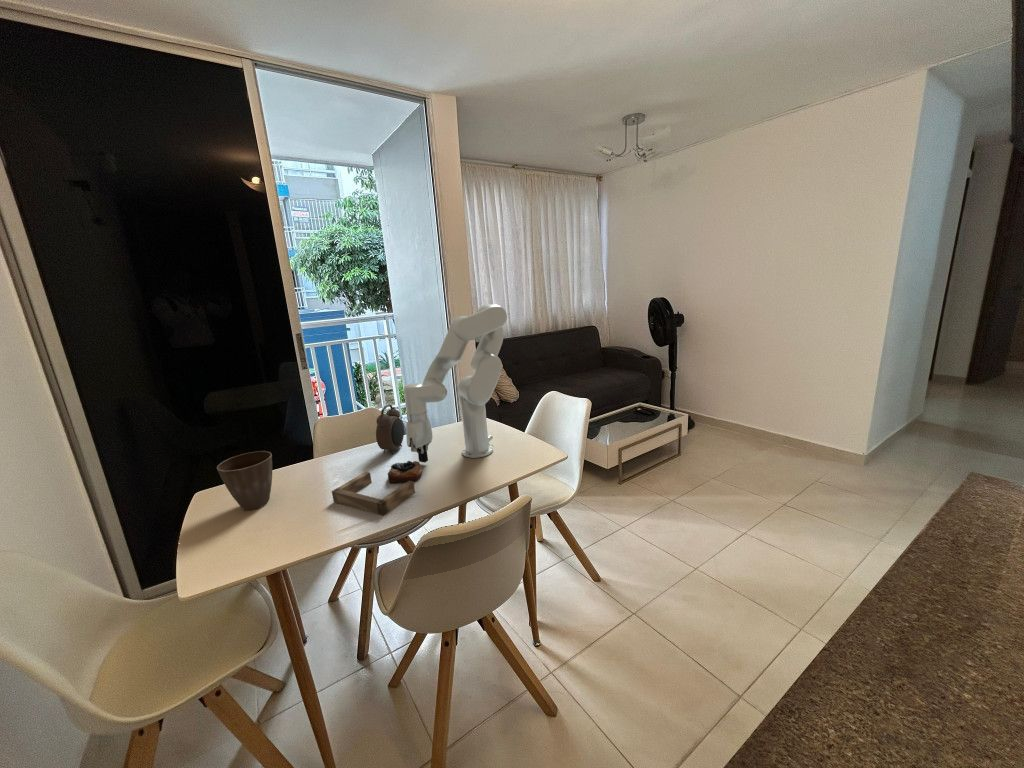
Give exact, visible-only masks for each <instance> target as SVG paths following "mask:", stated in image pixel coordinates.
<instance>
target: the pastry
mask: <svg viewBox="0 0 1024 768" xmlns="http://www.w3.org/2000/svg"><path fill="white" fill-rule="evenodd" d="M420 463H421V462H419V461H417V460H415V461H411V460H407V461H406V462H395V463H393V464H392V465H390V469H389V471H388V472H387V479H388V482H389V484H391V485H396V484H405V483H406V482H408V481H413V482H418V481H419V480H420V479H421V478H422V474H423V467H422V464H420Z"/></svg>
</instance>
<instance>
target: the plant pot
mask: <svg viewBox="0 0 1024 768" xmlns="http://www.w3.org/2000/svg"><path fill="white" fill-rule="evenodd" d="M216 469H217V472H218V474H219V477H220V478H221V481H222V482H223V484H224V486H225V487H226V490H228V492H229V494H230V495H231V496H232V498H233V499H234V500H235V502H236V503H237V504H238V505H239V506H240V507H241V509H243V510H244V511H252V510H251V509H254V510H257V509H260V508H262V507H264V506H266V505H267V504H268V503H269V502H268V501H270V497H271V493H272V492H271V491H272V483H273V455H272V452H271V451H266V450H262V451H261V450H259V451H251V452H247V453H246V452H245V453H242V454H239V455H235V456H232V457H230V458H228V459H225V460H223V461H222V462H220V463H219V464H218V465H216ZM267 502H268V503H267ZM266 503H267V504H266ZM265 504H266V505H265ZM263 505H264V506H263ZM261 506H262V507H261ZM259 507H260V508H259ZM256 508H257V509H256Z"/></svg>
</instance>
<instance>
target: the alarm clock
mask: <svg viewBox="0 0 1024 768" xmlns="http://www.w3.org/2000/svg"><path fill="white" fill-rule="evenodd" d="M388 407H389V408H390V409H388V410H387V411H386V413H385V410H386V409H387V408H388ZM400 417H401V413H400V410H399V409H396V408H395V406H393V405H392V404H386V405H385V406H383V408H382V409H381V411H380V415H379V416H377V418H376V422H375V423H376V427H375V428H376V429H375V438H376V443H377V444H376V445H378V447H379V448H380V450H383V454H385V453H386V451H391V455H394V451H395V450H397V449H399V448H401V447H403V445H402V444H403V441H404V437H405V436H404V435H405V430H404V423H403V421H402V418H400Z"/></svg>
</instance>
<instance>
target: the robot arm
mask: <svg viewBox="0 0 1024 768" xmlns="http://www.w3.org/2000/svg"><path fill="white" fill-rule="evenodd" d="M507 320H508V314H507V311H506V309H505V308H504V307H503V306H501V305H498V304H483V305H481V306H480V307H479V308H478V309H477V312H475V313H474V314H470V315H468V316H465V315H464V316H463V315H460V316H456V317H455V318H454V319H453V320H452V322H451V324H450V326H449V328H448V330H447V332H446V335H445V338H444V340H443V342H442V344H441V347H440V349H439V351H438V352H437V354H436V355H435V357H434V359H433V361H432V362H431V364H430V365H429V368H428V369H427V372H426V374H425V376H424V379H423V382H422V383H418V382H417V383H410V384H407V385H405V386H404V388H403V395H404V402H405V403H404V404H405V409H406V410H405V411H406V418H407V422H406V427H405V428H406V429H405V430H406V431H405V432H406V433H405V435H406V445H407V447H408V448H410V452H411V453H417V455H418V456H417V457H418V462H419V463H427V462H428V461H429V457H428V456H429V455H428V451H429V445H430V444H431V443H432V440H433V437H434V436H433V429H432V423H431V420H430V417H429V413H428V412H429V411H428V405H427V403H440V402H442V401H444V400H445V399H446V397H447V396H448V389H447V386H446V385H444V381H445V378H446V377H447V374H448V373H449V371H450V370H451V369H452V368H453V367H454V366H456V365H458V363H460V362H461V360H462V357H463V355H464V353H465V351H466V348H467V346H468V343H469V342H470V341H473V340H477V339H479V338H480V339H479V341H478V342H479V343H478V345H477V347H476V350H475V352H474V353H473V356H472V358H471V359H470V360H471V361H470V367H471V370H472V372H474V374H473V375H466V376H464V377H462V378H461V380H459V382H458V386H457V393H458V399H459V404H460V411H461V418H462V427H463V428H462V429H463V436H464V437H463V438H464V447H463V448H462V449H461V454H462V456H464V457H466V458H471V459H479V458H484V457H487V456H489V455H490V454H492V453H493V451H494V448H493V446H492V444H490V441H492V440H493V438H494V437H493V435H491V434H488V423H487V411H486V404H487V403H488V402H489V401H490V399H491V397H492V395H493V393H494V391H495V389H496V386H497V384H498V381H499V380H500V377H501V374H502V370H503V363H502V360H501V358H500V357H499V356H498V355H499V353H500V350H501V349H502V348H501V347H502V345H503V341H504V328H503V326H504V325H505V324H506V322H507Z"/></svg>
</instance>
